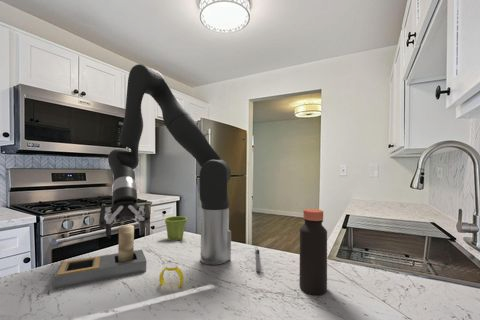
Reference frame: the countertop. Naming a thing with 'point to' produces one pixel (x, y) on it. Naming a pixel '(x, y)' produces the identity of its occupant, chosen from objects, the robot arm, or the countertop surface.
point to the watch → (171, 268)
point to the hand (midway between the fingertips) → (126, 235)
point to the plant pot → (175, 227)
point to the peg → (126, 243)
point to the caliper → (257, 259)
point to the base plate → (97, 269)
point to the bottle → (313, 253)
